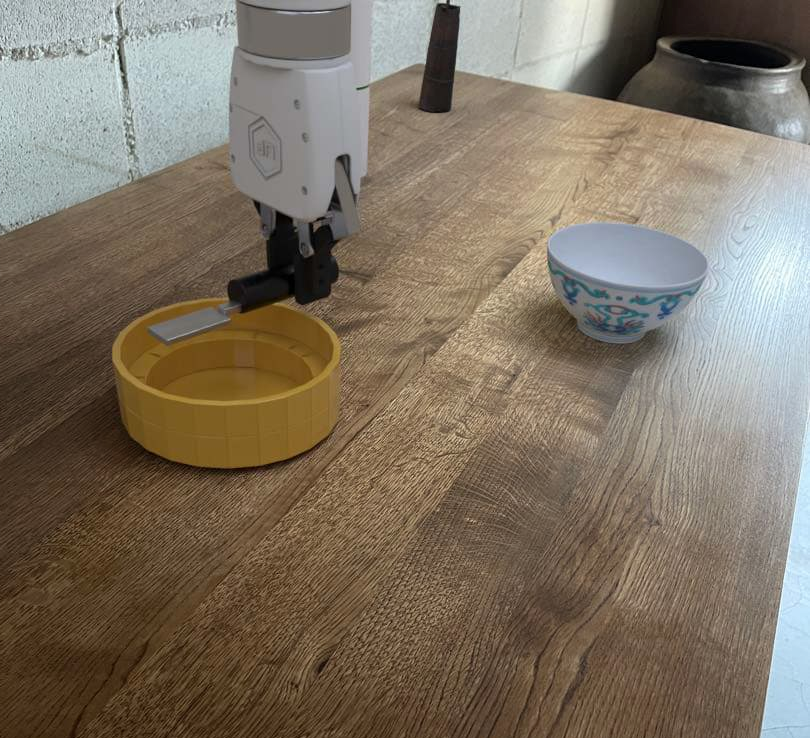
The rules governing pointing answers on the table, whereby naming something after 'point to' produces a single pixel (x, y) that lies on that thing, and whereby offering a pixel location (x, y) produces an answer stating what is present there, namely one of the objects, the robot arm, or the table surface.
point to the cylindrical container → (362, 67)
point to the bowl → (230, 386)
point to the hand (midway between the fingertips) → (299, 290)
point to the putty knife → (235, 303)
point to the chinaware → (623, 277)
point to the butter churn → (441, 59)
